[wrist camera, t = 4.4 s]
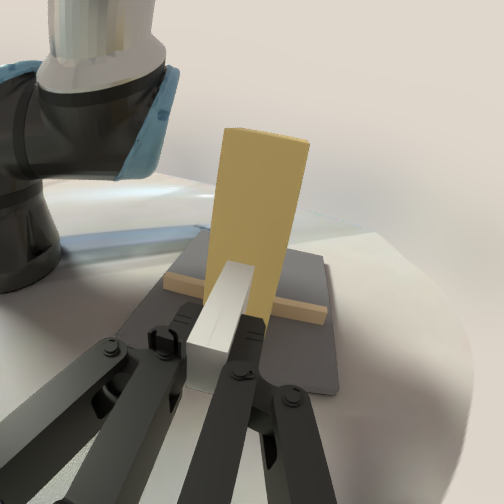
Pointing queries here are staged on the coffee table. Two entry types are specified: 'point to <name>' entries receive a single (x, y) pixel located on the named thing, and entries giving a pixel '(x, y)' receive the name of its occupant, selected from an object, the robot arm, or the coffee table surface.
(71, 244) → the coffee table surface
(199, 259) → the tipping mat
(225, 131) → the mustard block
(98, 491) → the robot arm
